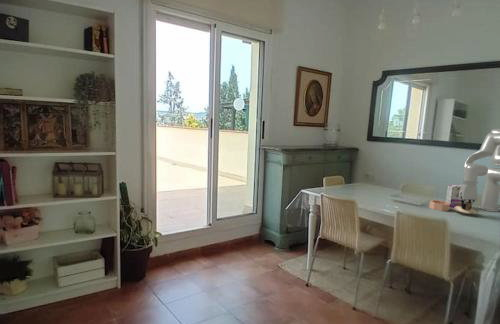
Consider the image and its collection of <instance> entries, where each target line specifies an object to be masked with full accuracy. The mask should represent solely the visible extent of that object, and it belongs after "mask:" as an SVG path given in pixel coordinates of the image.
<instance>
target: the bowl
mask: <svg viewBox="0 0 500 324" xmlns="http://www.w3.org/2000/svg"><path fill="white" fill-rule="evenodd" d="M428 207H429V208H430V209H432V210H435V211H441V212H448V211H450V209H451V207H450V203H448V202H446V200H439V199H431V200H430V201H429V206H428Z"/></svg>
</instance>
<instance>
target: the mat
mask: <svg viewBox="0 0 500 324" xmlns="http://www.w3.org/2000/svg"><path fill="white" fill-rule="evenodd" d="M452 212H453V213H455V214H457V215H459V216H462V217H478V216H477V214H467V213H462V212H459V211H456V210H452Z"/></svg>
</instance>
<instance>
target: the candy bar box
mask: <svg viewBox="0 0 500 324" xmlns="http://www.w3.org/2000/svg"><path fill="white" fill-rule="evenodd" d="M461 185H462V184H448V185H447V190H446V197H445V202H448V203H450V208H454V207H455V206H462V203H461V201H460V200H458V198H459V191H460V188H461ZM461 199H462V198H461Z"/></svg>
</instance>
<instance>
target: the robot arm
mask: <svg viewBox="0 0 500 324" xmlns="http://www.w3.org/2000/svg"><path fill="white" fill-rule="evenodd" d="M490 157H491V158H490ZM484 158H485V159H486V158H490V163H491V165H492V166H493V167H488V166H486V165H482V164H476V163H475V162H476V161H477V160H482V159H484ZM494 166H495V167H494ZM499 167H500V128H493V129H491V131H490V132H489V133H488V134H486V135H485V138H484V140H483V142H482V144H481V146H480V148H479V150H477V151H475V152H473V153H472V154H471V155H469V156H468V157H467V159H466V161H465V162H464V164H463V169H462V170H463V173H464V176H463V182H462V184H460V185H461V188H460V191H459V198H458V200H460V201H461V203H462V209H466V204H465V203H466V202H470V203H471V206H470V209H471V208H472V205H473V203H474V202H476V201H478V198H477V196H478V186H477V184H478V183H479V182H478V176H479V177H484V178H485V179H484V188H483V193H482V199H481V204H480V205H478V209H480V210H484V211H488V212H500V204H499V199H500V168H499ZM461 198H462V199H461ZM467 200H468V201H467Z"/></svg>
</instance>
